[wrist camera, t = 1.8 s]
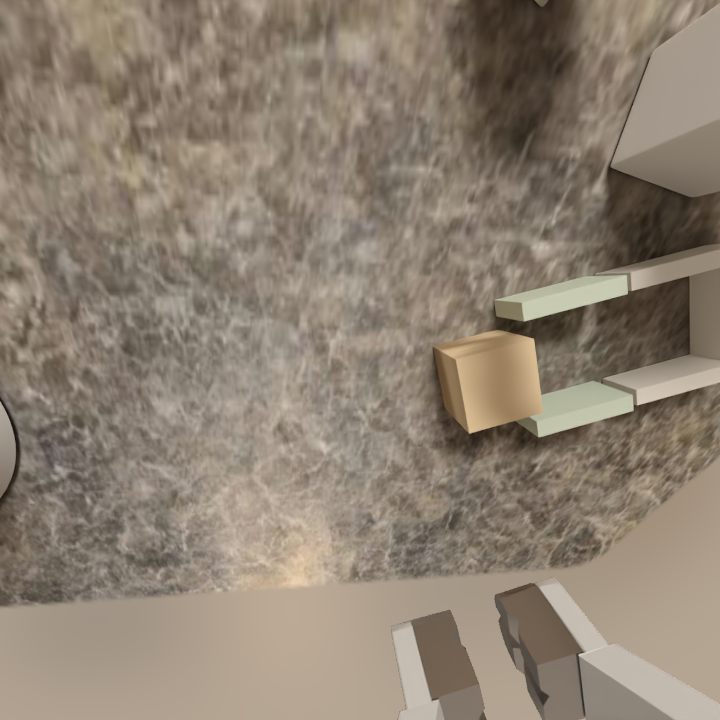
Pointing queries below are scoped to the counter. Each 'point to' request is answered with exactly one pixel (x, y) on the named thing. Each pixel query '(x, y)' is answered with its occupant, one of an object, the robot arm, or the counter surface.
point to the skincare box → (541, 2)
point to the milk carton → (678, 114)
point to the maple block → (489, 379)
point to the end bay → (707, 325)
